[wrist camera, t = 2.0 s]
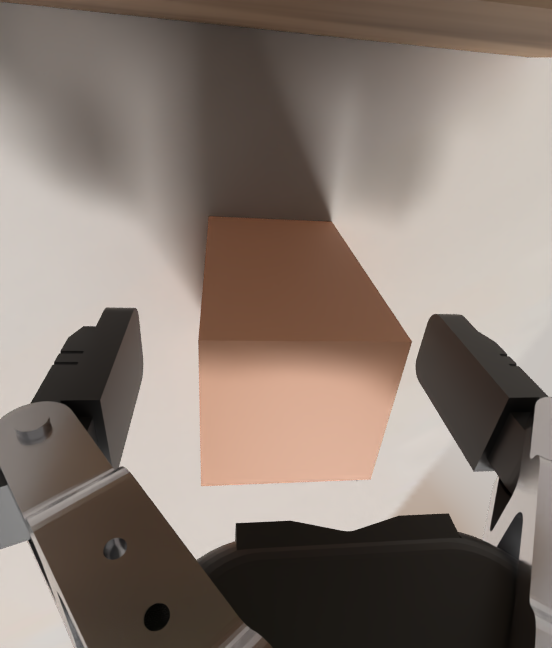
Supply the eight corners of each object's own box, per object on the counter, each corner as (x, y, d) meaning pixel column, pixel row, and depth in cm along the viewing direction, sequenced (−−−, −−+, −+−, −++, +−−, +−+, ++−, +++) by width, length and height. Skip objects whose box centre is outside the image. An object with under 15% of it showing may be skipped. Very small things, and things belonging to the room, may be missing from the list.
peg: (208, 216, 13) (198, 340, 8) (331, 221, 14) (412, 341, 8) (209, 323, 16) (201, 485, 10) (315, 324, 16) (370, 479, 10)
